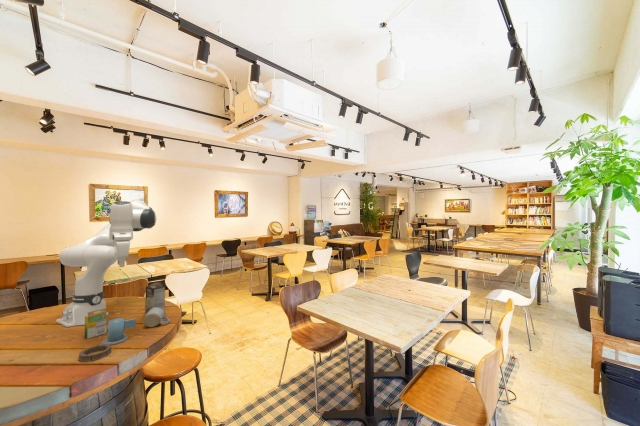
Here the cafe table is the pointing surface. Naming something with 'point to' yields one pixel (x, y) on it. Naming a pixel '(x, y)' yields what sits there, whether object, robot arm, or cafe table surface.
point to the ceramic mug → (155, 317)
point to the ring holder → (91, 357)
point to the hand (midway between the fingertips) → (120, 265)
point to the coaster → (115, 341)
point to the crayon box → (96, 323)
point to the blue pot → (118, 328)
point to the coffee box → (155, 297)
